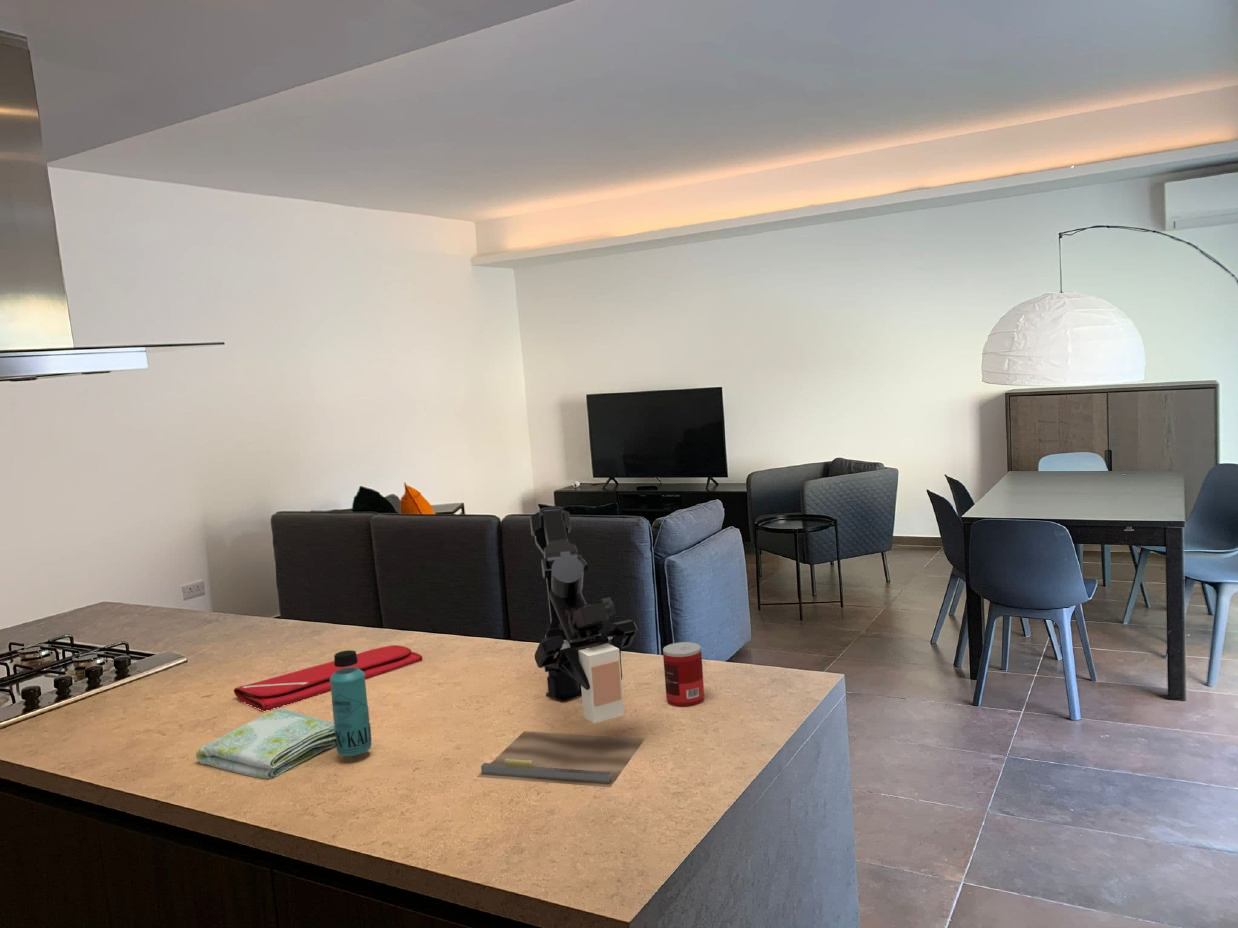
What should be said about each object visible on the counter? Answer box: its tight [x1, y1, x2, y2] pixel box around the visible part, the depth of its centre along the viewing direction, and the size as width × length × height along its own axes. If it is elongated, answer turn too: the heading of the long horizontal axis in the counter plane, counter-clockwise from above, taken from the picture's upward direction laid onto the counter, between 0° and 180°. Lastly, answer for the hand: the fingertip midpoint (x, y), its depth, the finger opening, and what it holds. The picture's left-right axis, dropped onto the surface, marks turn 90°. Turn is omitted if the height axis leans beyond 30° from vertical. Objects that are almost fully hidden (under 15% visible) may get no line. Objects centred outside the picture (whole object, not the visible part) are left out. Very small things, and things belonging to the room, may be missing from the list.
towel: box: [195, 708, 336, 780], centre depth 172 cm, size 18×21×5 cm
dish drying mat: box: [233, 644, 423, 712], centre depth 214 cm, size 16×41×4 cm, turn 137°
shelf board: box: [476, 730, 646, 788], centre depth 157 cm, size 20×24×1 cm
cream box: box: [578, 644, 625, 724], centre depth 158 cm, size 4×6×12 cm
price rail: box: [480, 759, 612, 784], centre depth 150 cm, size 2×23×2 cm, turn 72°
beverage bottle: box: [330, 650, 373, 757], centre depth 166 cm, size 6×7×20 cm
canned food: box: [662, 641, 705, 708], centre depth 183 cm, size 8×8×11 cm
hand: (604, 684), depth 156 cm, fingers closed on cream box, 6 cm apart
